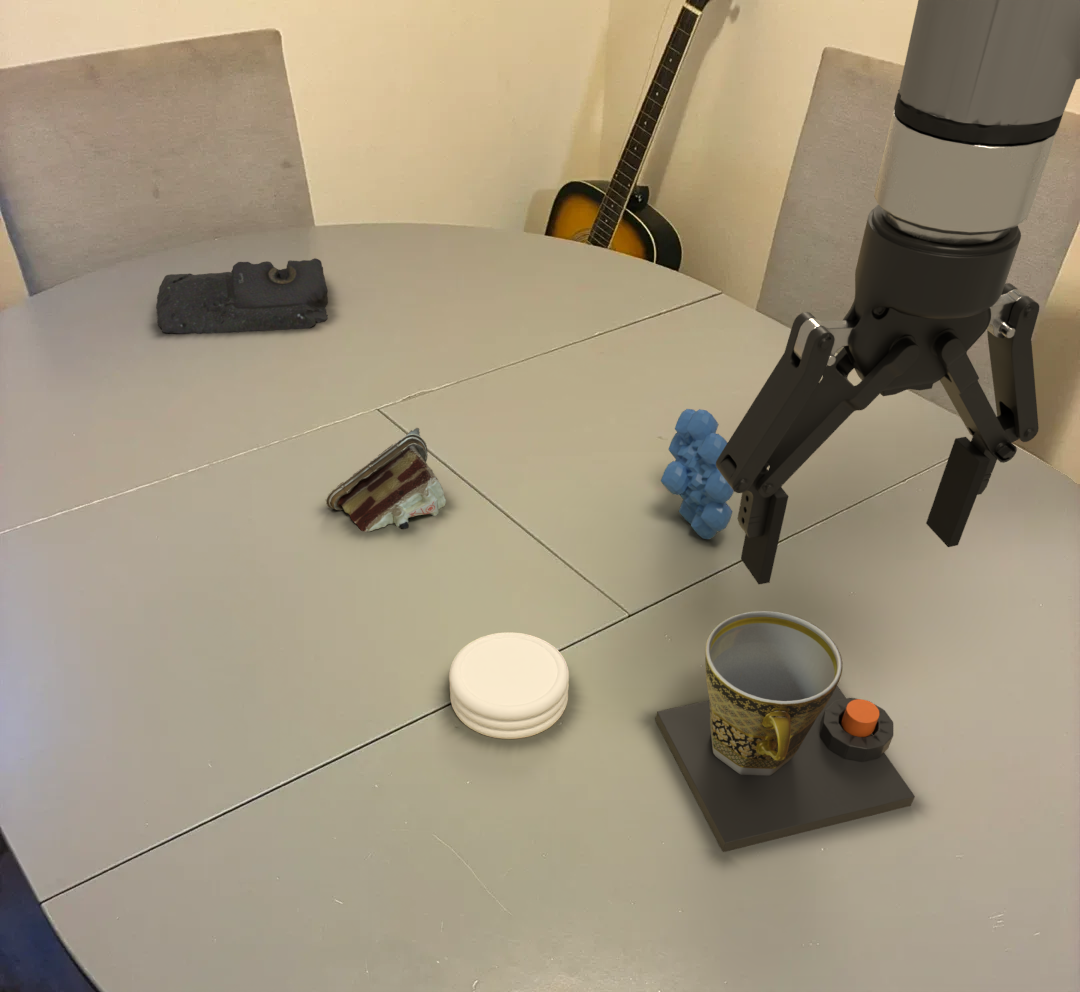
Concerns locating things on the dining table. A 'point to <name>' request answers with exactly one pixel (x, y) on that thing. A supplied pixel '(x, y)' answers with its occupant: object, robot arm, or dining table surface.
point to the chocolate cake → (391, 487)
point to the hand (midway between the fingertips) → (850, 552)
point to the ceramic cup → (766, 687)
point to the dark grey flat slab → (787, 777)
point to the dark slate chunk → (244, 299)
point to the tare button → (860, 718)
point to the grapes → (699, 473)
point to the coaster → (509, 685)
